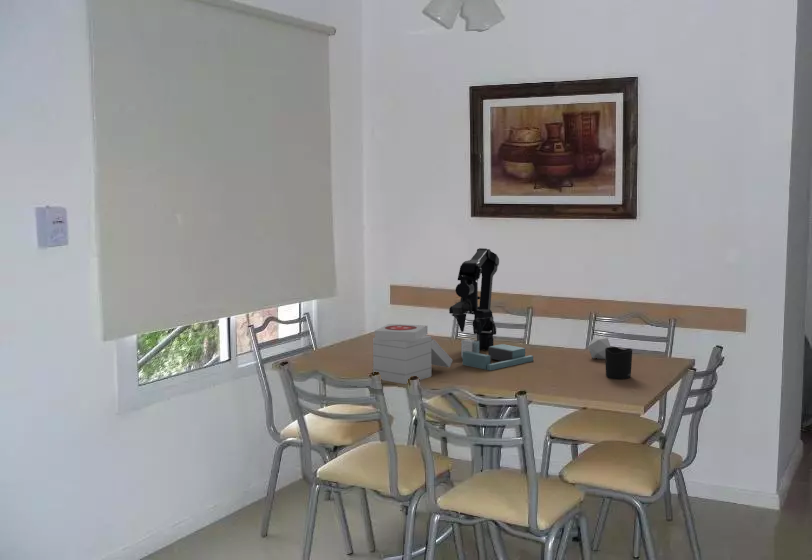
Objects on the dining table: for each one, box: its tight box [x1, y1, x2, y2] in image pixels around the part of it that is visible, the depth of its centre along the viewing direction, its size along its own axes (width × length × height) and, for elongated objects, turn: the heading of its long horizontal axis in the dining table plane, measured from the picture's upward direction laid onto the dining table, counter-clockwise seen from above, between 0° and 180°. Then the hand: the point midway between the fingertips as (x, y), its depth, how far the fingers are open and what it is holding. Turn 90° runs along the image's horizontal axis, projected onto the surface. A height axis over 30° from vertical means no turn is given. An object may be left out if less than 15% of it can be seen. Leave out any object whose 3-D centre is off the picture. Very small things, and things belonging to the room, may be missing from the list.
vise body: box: [462, 351, 534, 371], centre depth 346 cm, size 14×24×5 cm, turn 132°
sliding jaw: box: [487, 343, 526, 362], centre depth 351 cm, size 12×8×5 cm, turn 42°
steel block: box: [460, 338, 480, 359], centre depth 356 cm, size 6×4×7 cm, turn 42°
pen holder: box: [604, 346, 633, 380], centre depth 321 cm, size 9×9×10 cm
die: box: [587, 336, 612, 360], centre depth 353 cm, size 8×9×10 cm
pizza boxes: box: [372, 323, 454, 385], centre depth 327 cm, size 19×30×18 cm, turn 141°
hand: (470, 333), depth 356 cm, fingers open, 9 cm apart
